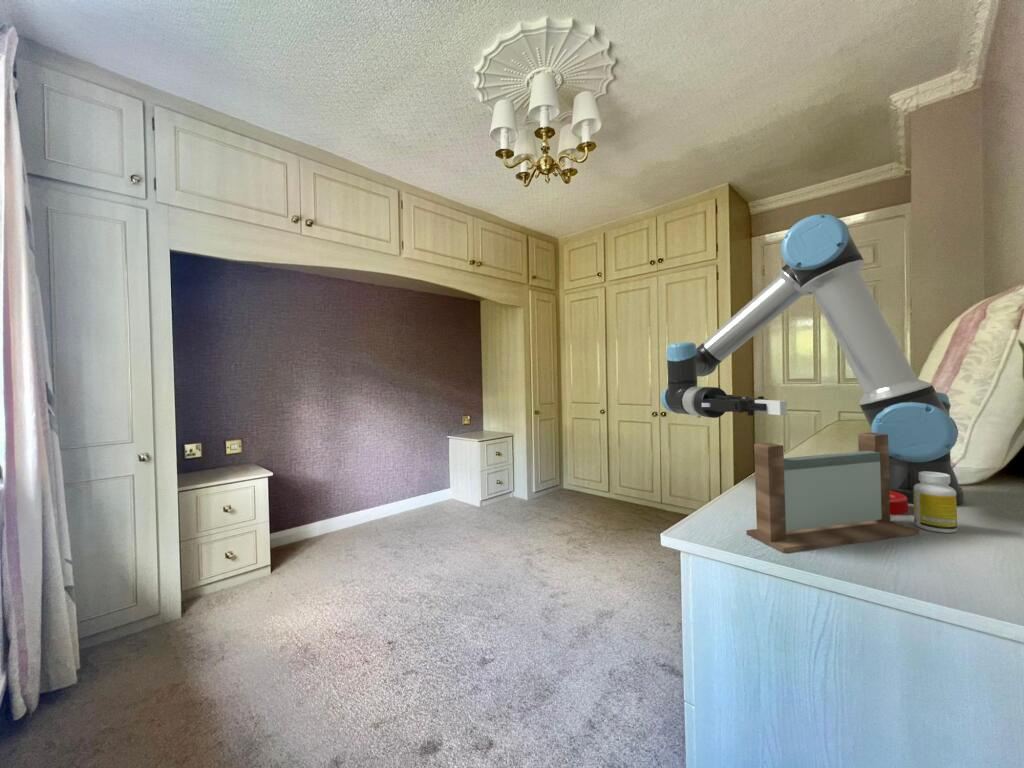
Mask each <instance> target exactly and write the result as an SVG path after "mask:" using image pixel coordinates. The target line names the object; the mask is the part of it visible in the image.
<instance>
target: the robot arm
mask: <svg viewBox="0 0 1024 768" xmlns="http://www.w3.org/2000/svg"><path fill="white" fill-rule="evenodd" d="M780 247H781V248H780V251H781V257H782V259H783V261H784V263H786V264H785V265H784V266H783V267H782V268H780V269H779V271H780V272H779V276H778V277H776V278H775V279H774V280H773V281H771V283H769V284H768V285H767V286H766V287H765V288H763V290H761V291H760V292H759V293H758V294H757V295H756V296H754V297H753V298H752V299H751V300H750V301H748V302H747V303H746V305H744V306H743V307H742V308H741V309H740V310H738V311H737V312H736V313H735V314H734V315H732V317H730V318H729V319H728V320H727V321H725V323H724V324H722V325H721V326H720V327H719V328H718V329H717V330H715V332H713V333H712V334H711V335H710V336H709V337H708V338H707V339H705V340H704V341H703V342H702V343H701V344H700V345H698V346H697V345H696V343H694V342H676V343H671V344H668V345H667V347H666V357H665V358H666V362H667V363H666V365H667V366H666V367H667V387H666V388H665V389H664V390H663V392H662V393H661V396H660V397H661V398H660V401H661V404H662V406H663V408H665V410H667V411H669V412H672V413H676V414H678V415H679V414H680V415H681V414H683V415H689V416H696V418H697V419H701V418H702V417H703V418H704V417H705V418H711V419H712V418H713V419H715V418H716V419H717V418H720V417H721V416H723V415H725V413H730V412H732V413H739V414H743V413H747V416H749V417H750V416H754V414H765V415H773V416H775V415H776V416H787V415H788V413H787V412H788V411H787V410H788V409H787V406H788V405H787V401H786V400H777V399H776V400H775V399H768V398H765V397H764V396H761V395H760V396H757V398H756V397H751V396H745V397H742V396H740V395H734V394H727V393H726V392H725V390H723V389H722V388H720V387H717V386H714V387H713V386H698V377H707V376H709V375H711V374H713V373H714V372H715V371H716V369H717V368H718V365H719V364H722V362H723V361H724V360H725V359H726V358H728V357H729V356H730V355H732V354H733V353H734V352H735V351H736V350H738V349H739V348H740V347H742V345H744V344H746V343H747V342H748V341H749V340H750V339H751V338H753V337H754V336H755V335H756V334H757V333H759V332H760V331H761V330H762V329H763V328H765V327H766V326H767V325H769V324H770V323H771V322H772V321H773V320H775V319H776V318H777V317H779V315H781V314H782V313H784V312H785V311H786V310H787V309H789V308H790V307H791V306H792V305H793V304H794V303H795V302H797V301H798V300H799V299H801V298H802V297H803V296H811V295H812V294H813V296H814V298H815V300H816V302H817V304H818V306H819V308H820V310H821V312H822V314H823V316H824V318H825V319H826V321H827V324H828V325H829V327H830V329H831V332H832V333H833V335H834V337H835V339H836V341H837V343H838V345H839V348H840V349H841V351H842V354H843V355H844V358H845V359H846V361H847V363H848V365H849V368H850V369H851V371H852V373H853V375H854V377H855V379H856V381H857V383H858V385H859V387H860V388H861V389H860V390H862V393H863V395H862V397H861V399H860V400H859V402H858V403H859V406H860V409H861V410H862V412H863V415H864V417H865V419H866V421H867V423H868V425H869V427H870V432H872V433H880V434H888V448H889V485H890V491H893V492H897V493H900V494H902V495H904V496H906V497H907V499H908V504H909V503H911V504H914V486H915V485H916V484H918V483H920V481H919V472H923V471H928V472H939V473H945V474H948V475H950V481H951V482H950V484H948V485H949V487H952V488H953V489H954V490H955V491H956V496H957V499H956V500H957V505H961V504H963V503H964V501H965V499H964V498H965V497H964V496H965V495H964V490H963V488H962V487H961V486H960V484H959V481H958V478H957V475H956V473H955V472H954V469H953V466H952V463H951V462H952V461H951V450H952V449H953V447H954V446H956V443H957V441H958V437H959V436H958V435H959V429H958V426H957V423H956V422H955V420H954V419H953V418H952V417H951V414H950V409H951V405H952V404H951V403H950V399H949V398H950V397H949V396H948V395H947V394H946V393H944V392H938V391H936V390H935V387H934V386H933V384H932V383H931V382H928V381H925V380H922V379H919V377H918V378H917V375H916V374H915V372H914V370H913V368H912V367H911V364H910V362H909V361H908V360H907V358H906V356H905V354H904V352H903V350H902V348H901V346H900V344H899V342H898V341H897V339H896V337H895V335H894V333H893V332H892V330H891V328H890V326H889V324H888V322H887V321H886V318H885V317H884V315H883V313H882V311H881V309H880V308H879V306H878V303H877V302H876V299H875V298H874V297H873V295H872V293H871V291H870V289H869V287H868V286H867V283H866V281H865V280H864V278H863V276H862V274H861V271H862V268H863V267H864V265H865V259H864V258H863V256H862V253H860V251H859V249H858V247H857V245H856V244H855V241H854V240H853V237H852V235H851V234H850V231H849V227H848V225H847V224H846V222H845V221H843V220H842V219H839V217H837V216H834V215H831V214H824V213H822V214H821V213H820V214H814V215H810V216H807V217H805V218H802V219H801V220H799V221H798V222H796V223H794V225H793V226H791V227H790V228H789V229H788V231H787V232H786V233H785V234H784V237H783V239H782V241H781V246H780Z"/></svg>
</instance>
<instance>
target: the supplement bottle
mask: <svg viewBox="0 0 1024 768" xmlns="http://www.w3.org/2000/svg"><path fill="white" fill-rule="evenodd" d="M919 481H920V483H918V484H916V485H915V486H914V503H913V518H914V519H913V521H914V522H913V523H914V525H915V526H916V527H918V528H920V529H923V530H926V531H931V532H934V533H935V532H936V533H942V534H943V533H948V534H949V533H951V534H952V533H955V532H957V531H958V513H957V512H958V509H957V508H958V507H957V505H958V504H957V500H956V499H957V496H956V491H955V490H954V489H953V488H952V487H949V485H948V484H950V482H951V481H950V475H948V474H945V473H939V472H928V471H923V472H919Z"/></svg>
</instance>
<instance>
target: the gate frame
mask: <svg viewBox="0 0 1024 768" xmlns="http://www.w3.org/2000/svg"><path fill="white" fill-rule="evenodd" d="M857 438H858V439H857V442H858V446H857V447H858V452H860V451H873V452H879V453H880V477H881V514H882V519H880V520H872V521H865V522H857V523H849V524H841V525H833V526H825V527H817V528H810V529H802V530H794V531H786V517H785V484H784V458H785V456H784V445H782V444H776V443H772V442H764V443H763V442H762V443H754V444H753V448H754V449H753V450H754V453H753V454H754V480H755V481H754V483H755V484H754V485H755V510H756V513H755V515H756V528H755V529H754V528H752V529H747V530H745V532H746V536H748V535H749V536H748V537H750V536H751V538H752V537H753V538H752V539H754V540H757V541H759V542H761V543H763V544H765V545H767V546H769V547H771V548H773V549H775V550H777V551H779V552H780V553H790V552H799V551H806V550H813V549H814V550H815V549H821V548H827V547H835V546H843V545H850V544H856V543H863V542H873V541H879V540H885V539H886V540H887V539H893V538H900V537H906V536H907V537H908V536H914V535H919V534H920V533H919V529H917V528H915V527H912V526H908V525H906V524H905V525H904V524H902V523H898V522H896V521H892V520H891V515H890V485H889V448H888V434H880V433H872V432H871V431H870V432H861V433H860V432H859V433H858V435H857Z"/></svg>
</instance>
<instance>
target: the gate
mask: <svg viewBox="0 0 1024 768" xmlns="http://www.w3.org/2000/svg"><path fill="white" fill-rule="evenodd" d="M784 484H785V517H786V531H794V530H802V529H810V528H817V527H825V526H833V525H841V524H849V523H857V522H865V521H872V520H880V519H882V514H881V477H880V453H879V452H873V451H860V452H859V451H851V452H840V453H828V454H816V455H805V456H796V457H794V456H793V457H784Z"/></svg>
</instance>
